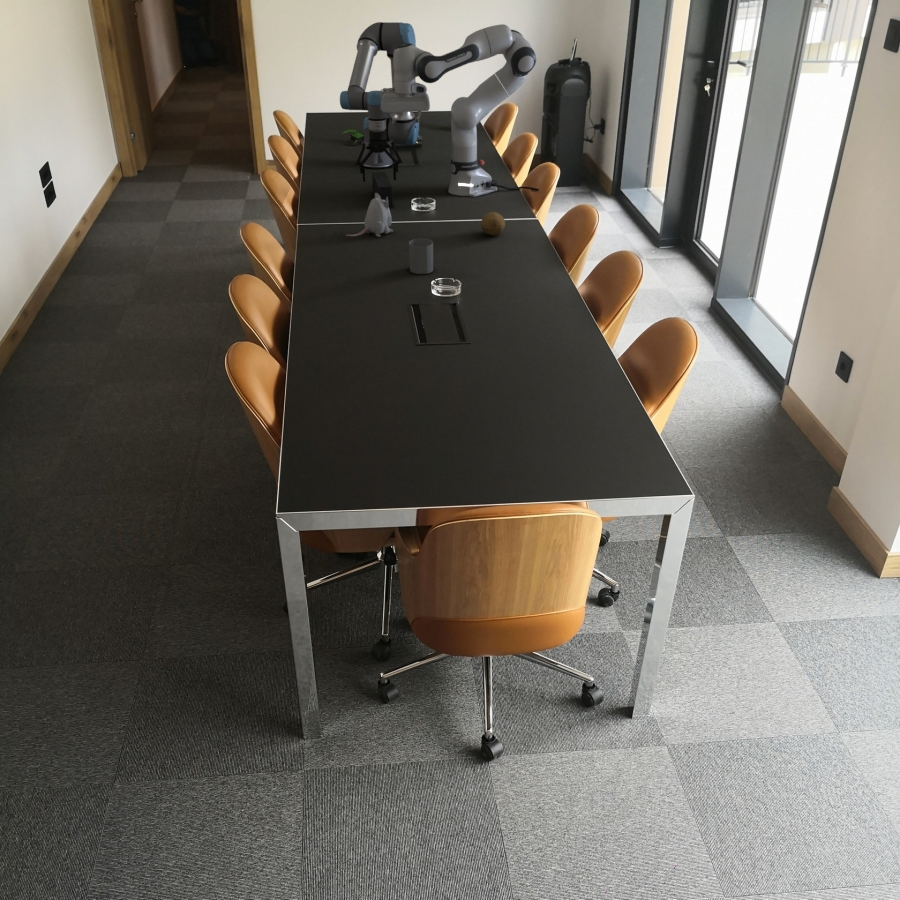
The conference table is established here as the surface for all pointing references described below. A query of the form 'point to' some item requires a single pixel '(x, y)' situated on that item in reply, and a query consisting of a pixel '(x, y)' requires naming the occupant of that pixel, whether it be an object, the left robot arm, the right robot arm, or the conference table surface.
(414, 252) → the cup
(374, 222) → the toy
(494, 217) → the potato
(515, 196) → the conference table surface
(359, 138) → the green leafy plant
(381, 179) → the bar
